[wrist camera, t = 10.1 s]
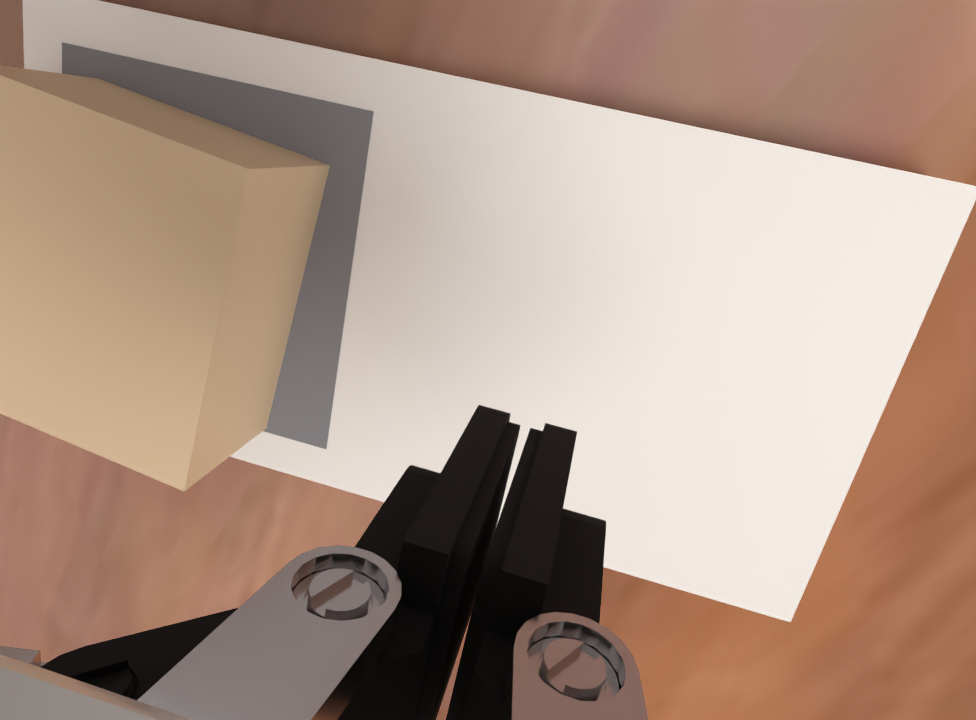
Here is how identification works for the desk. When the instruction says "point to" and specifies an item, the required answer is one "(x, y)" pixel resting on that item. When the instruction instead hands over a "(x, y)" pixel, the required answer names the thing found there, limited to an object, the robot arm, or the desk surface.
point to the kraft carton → (144, 272)
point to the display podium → (565, 291)
